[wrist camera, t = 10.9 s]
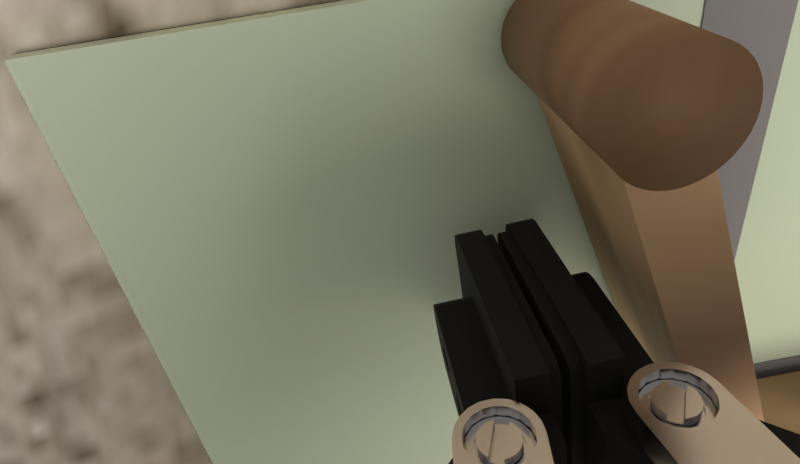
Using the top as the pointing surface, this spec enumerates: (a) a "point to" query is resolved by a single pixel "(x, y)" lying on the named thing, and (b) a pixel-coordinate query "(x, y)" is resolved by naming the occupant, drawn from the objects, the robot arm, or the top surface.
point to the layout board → (359, 205)
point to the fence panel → (649, 165)
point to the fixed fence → (781, 400)
